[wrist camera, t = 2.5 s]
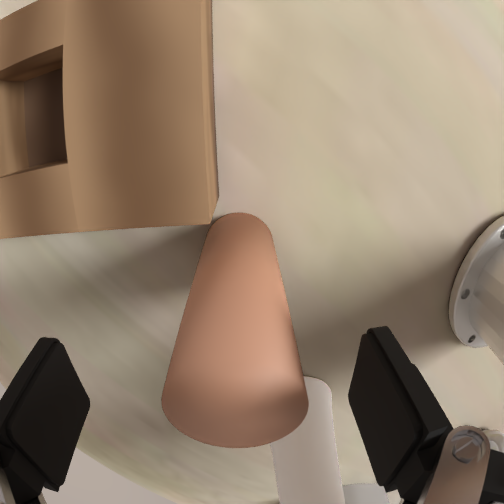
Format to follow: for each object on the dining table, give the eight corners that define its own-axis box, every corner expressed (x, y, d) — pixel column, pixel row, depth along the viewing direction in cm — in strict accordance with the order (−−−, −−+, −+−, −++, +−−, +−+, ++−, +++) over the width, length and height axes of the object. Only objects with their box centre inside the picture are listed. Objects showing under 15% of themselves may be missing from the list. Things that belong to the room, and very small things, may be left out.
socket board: (211, -5, 13) (201, -45, 8) (219, 196, 18) (209, 223, 13) (-24, 68, 13) (-69, 68, 8) (-11, 219, 17) (-53, 244, 13)
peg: (272, 211, 18) (315, 355, 7) (273, 274, 20) (302, 444, 9) (202, 214, 18) (145, 359, 7) (208, 276, 20) (177, 446, 9)
